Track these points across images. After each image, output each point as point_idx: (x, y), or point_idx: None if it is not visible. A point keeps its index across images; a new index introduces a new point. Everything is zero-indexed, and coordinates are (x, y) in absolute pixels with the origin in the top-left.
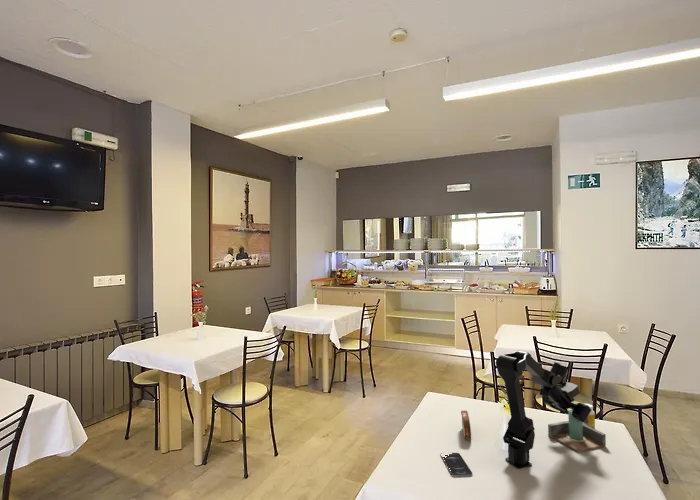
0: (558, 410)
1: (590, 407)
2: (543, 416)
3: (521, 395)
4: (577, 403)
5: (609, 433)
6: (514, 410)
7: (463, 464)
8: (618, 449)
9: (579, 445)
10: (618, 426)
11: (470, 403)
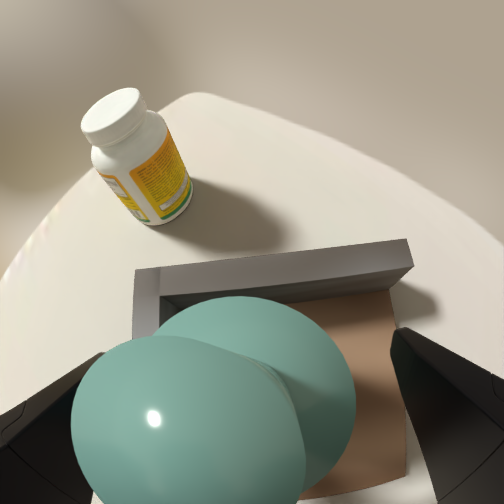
0: (91, 499)
1: (136, 105)
2: (23, 313)
3: None
4: (179, 365)
5: (247, 150)
6: None
7: None
8: (406, 230)
9: (364, 434)
10: (208, 96)
11: None
